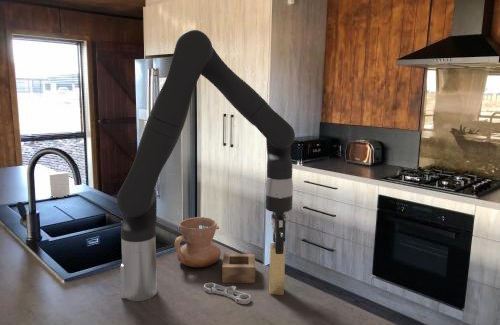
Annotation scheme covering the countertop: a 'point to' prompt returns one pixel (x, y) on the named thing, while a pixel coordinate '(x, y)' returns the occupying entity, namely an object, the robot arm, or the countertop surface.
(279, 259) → the tan wooden square peg
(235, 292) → the bracket
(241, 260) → the walnut block
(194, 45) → the robot arm
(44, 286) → the countertop surface
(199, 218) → the ceramic jug
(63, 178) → the white rectangular block
